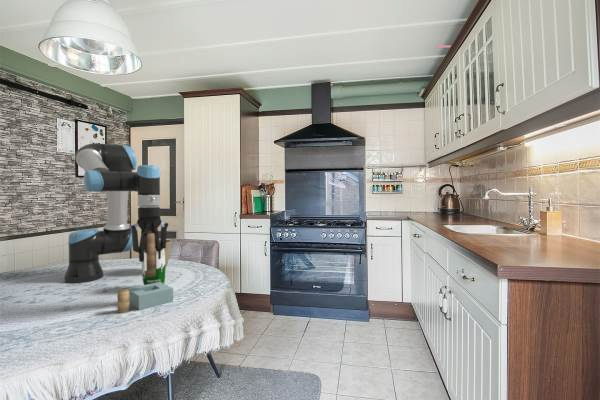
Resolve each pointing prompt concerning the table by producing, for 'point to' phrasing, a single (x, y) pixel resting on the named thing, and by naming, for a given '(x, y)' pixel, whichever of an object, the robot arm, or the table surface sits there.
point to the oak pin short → (123, 301)
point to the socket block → (150, 295)
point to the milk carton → (159, 272)
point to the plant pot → (167, 251)
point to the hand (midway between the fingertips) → (150, 268)
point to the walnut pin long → (150, 255)
